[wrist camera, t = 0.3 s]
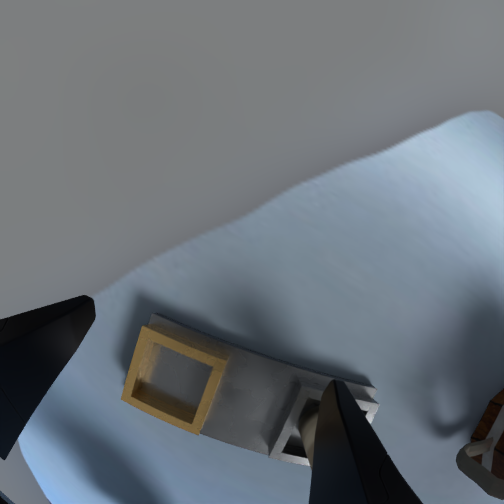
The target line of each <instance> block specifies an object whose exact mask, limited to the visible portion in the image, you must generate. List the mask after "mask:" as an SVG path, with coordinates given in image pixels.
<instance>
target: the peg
mask: <svg viewBox="0 0 504 504" xmlns="http://www.w3.org/2000/svg"><path fill="white" fill-rule="evenodd" d="M319 408H320V405H319V406H316V407H313V408H311V409H309V410H308V411H307V412H306V413H304V415H303V416H302V417H301V419H300V421H299V433H300V436H301V439H302V442H303V445H304V448H305V451H306V454H307V458H308V461H309V464H310V467H311V470H312V465H313V453H314V438H315V430H316V425H317V419H318V413H319Z"/></svg>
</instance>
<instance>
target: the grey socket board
mask: <svg viewBox="0 0 504 504" xmlns="http://www.w3.org/2000/svg"><path fill="white" fill-rule="evenodd" d="M332 379H338V380H343V381H344V382H345V383H346V385H347V387H348V388H349V390H350V392H351V393H352V395H353V397H354V398H355V400H356V402H357V403H358V405H359V406H360V408H361V410H362V411H363V413H364V415H365V416H366V418H367V420H368V421H369V423H370V424H371V422H372V420H373V417H374V415H375V413H376V411H377V409H378V407H379V405H380V404H379V403H377V402H376V401H375V400H374V399H373V398H374V396H375V393H376V391H377V388H375V387H374V386H372V385H368V384H364V383H360V382H355V381H351V380H347V379H344V378H340V377H336V376H332V375H329V374H325V373H321V372H318V371H314V370H311V369H308V368H304V367H301V366H298V365H294V364H291V363H288V362H285V361H282V360H278V359H275V358H272V357H269V356H266V355H263V354H260V353H258V352H255V351H252V350H249V349H246V348H243V347H241V346H238V345H235V344H232V343H230V342H227V341H224V340H222V339H219V338H216V337H214V336H211V335H209V334H206V333H204V332H201V331H199V330H196V329H194V328H191V327H189V326H187V325H184V324H182V323H179V322H177V321H175V320H172V319H170V318H168V317H166V316H163V315H161V314H159V313H152V315H151V318H150V320H149V323H148V325H143V326H142V328H141V332H140V335H139V338H138V341H137V344H136V347H135V351H134V354H133V357H132V361H131V364H130V368H129V371H128V375H127V378H126V382H125V386H124V389H123V393H122V397H121V400H123V401H125V402H127V403H129V404H130V405H132V406H134V407H136V408H138V409H140V410H142V411H144V412H146V413H148V414H150V415H152V416H154V417H156V418H159V419H161V420H163V421H165V422H167V423H170V424H172V425H174V426H177V427H179V428H181V429H184V430H186V431H189V432H191V433H194V434H196V435H199V433H200V434H203V435H206V436H208V437H211V438H214V439H217V440H220V441H222V442H225V443H228V444H232V445H235V446H238V447H241V448H245V449H248V450H251V451H255V452H259V453H262V454H266V455H269V458H273V459H277V460H281V461H286V462H290V463H295V464H300V465H306V466H310V464H309V461H308V458H307V454H306V451H305V448H304V445H303V442H302V439H301V436H300V433H299V421H300V419H301V417H302V416H303V415H304V413H306V412H307V411H308V410H309V409H311V408H313V407H316V406H319V405H320V401H321V396H322V394H323V392H324V390H325V389H326V387H327V386H328V384H329V383H330V381H331V380H332Z"/></svg>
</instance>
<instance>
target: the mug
mask: <svg viewBox="0 0 504 504" xmlns="http://www.w3.org/2000/svg"><path fill="white" fill-rule="evenodd" d="M456 463H457V466H458V468H459V469H460V470H461V471H462V472H463V473H464V474H465V475H466V476H468V477H469V478H470V479H472V480H473V481H474V482H475V483H477V484H478V485H479V486H480V487H481V488H482V489H483V490H484V491H485V492H486V493H487V494H488V495H490V496H493V497H496V498H498V499H501V500H504V389H503V390H502V391H501V392H499V393H498V394H497V395H496V396H495V397H494V398H493V399H492V400H491V401H490V402H489V404H488V407H487V409H486V411H485V413H484V415H483V417H482V419H481V420H480V422H479V424H478V426H477V428H476V430H475V432H474V433H473V435H472V437H471V443H468V444H466V445H465V446H464V447H463V448H462V449H460V451H459V452H458V454H457V457H456Z"/></svg>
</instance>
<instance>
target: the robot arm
mask: <svg viewBox="0 0 504 504" xmlns="http://www.w3.org/2000/svg"><path fill="white" fill-rule="evenodd" d="M95 317H96V313H95V304H94V300H93V299H92V298H91V297H89V296H87V295H82V296H78V297H75V298H71V299H68V300H65V301H61V302H58V303H54V304H51V305H48V306H44V307H41V308H37V309H34V310H31V311H27V312H24V313H21V314H17V315H14V316H11V317H9V318H8V317H7V318H4V319H0V457H1V458H2V459H3V460H5V459H6V458H7V456H8V454H9V452H10V451H11V449H12V447H13V445H14V444H15V442H16V440H17V439H18V437H19V435H20V434H21V432H22V430H23V429H24V427H25V425H26V423H27V422H28V420H29V419H30V417H31V416H32V414H33V412H34V411H35V409H36V408H37V406H38V405H39V403H40V402H41V400H42V399H43V397H44V396H45V394H46V393H47V391H48V390H49V388H50V387H51V385H52V384H53V382H54V381H55V380H56V378H57V377H58V375H59V374H60V372H61V371H62V370H63V368H64V367H65V365H66V364H67V363H68V361H69V360H70V359H71V357H72V356H73V354H74V353H75V352H76V350H77V349H78V347H79V346H80V344H81V342H82V340H83V339H84V337H85V335H86V334H87V332H88V330H89V329H90V327H91V325H92V324H93V322H94V320H95ZM0 504H15V503H13V502H12V501H11V500H10V499H9V498H8V497H7V496H6V495H4V494H3V493H2V492H1V491H0ZM309 504H423V503H422V502H421V500H420V499H419V498H418V497H417V495H416V494H415V493H414V491H413V490H412V489H411V487H410V486H409V485H408V483H407V482H406V481H405V479H404V478H403V477H402V475H401V474H400V472H399V471H398V469H397V468H396V466H395V464H394V463H393V461H392V460H391V458H390V456H389V455H387V451H386V450H385V448H384V446H383V445H382V443H381V441H380V440H379V438H378V436H377V435H376V433H375V431H374V430H373V428H372V426H371V425H370V423H369V421H368V420H367V418H366V416H365V415H364V413H363V411H362V410H361V408H360V406H359V405H358V403H357V402H356V400H355V398H354V397H353V395H352V393H351V392H350V390H349V388H348V387H347V385H346V383H345V382H344V381H343V380H338V379H332V380H331V381H330V383H329V384H328V386H327V387H326V389H325V390H324V392H323V394H322V396H321V401H320V408H319V413H318V419H317V425H316V430H315V438H314V453H313V465H312V477H311V487H310V497H309Z"/></svg>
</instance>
